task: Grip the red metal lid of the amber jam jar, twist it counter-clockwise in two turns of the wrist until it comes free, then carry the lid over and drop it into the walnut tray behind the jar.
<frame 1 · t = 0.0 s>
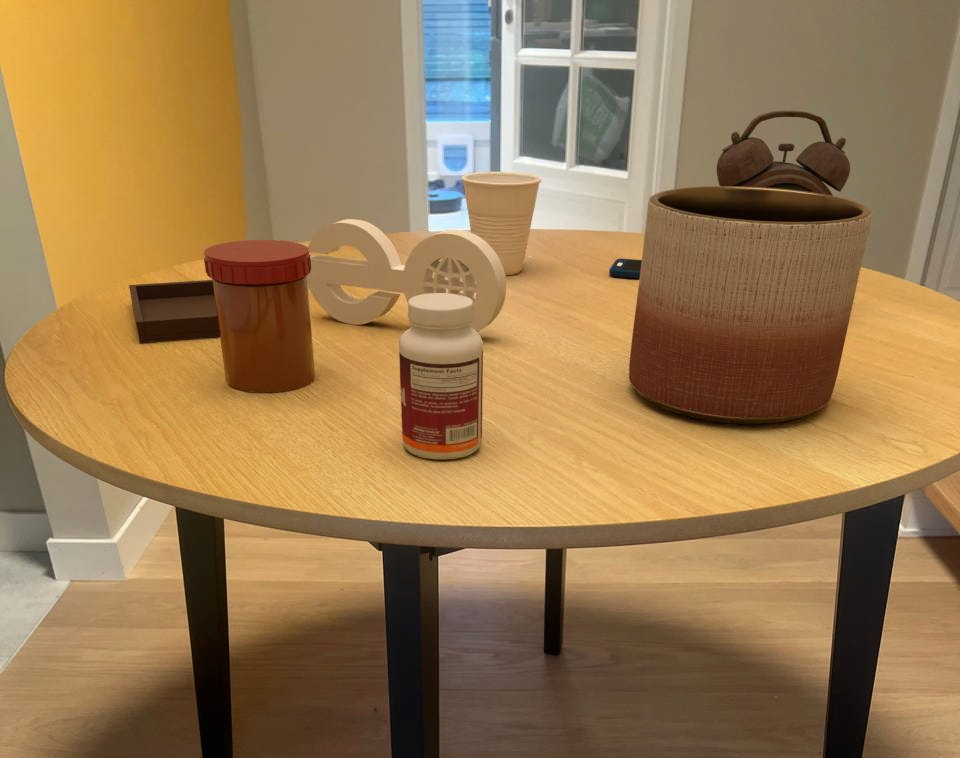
cream logo sign: (404, 330, 100), on the table
planter: (726, 396, 84), on the table
pill bottle: (442, 449, 73), on the table
cell phone: (665, 275, 122), on the table
alarm clock: (756, 311, 108), on the table
cup: (499, 272, 122), on the table
tray: (200, 317, 102), on the table
jar lid: (257, 255, 80), point 11 cm above the table, screwed on, not yet turned
jar: (270, 378, 86), on the table
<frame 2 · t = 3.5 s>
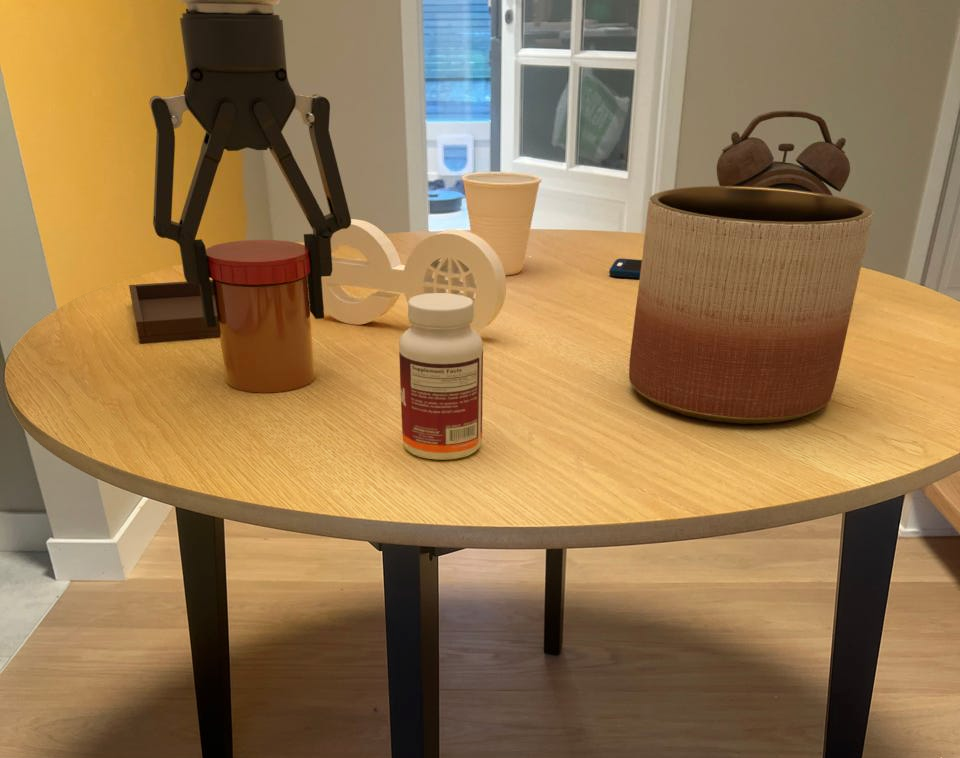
hand: (264, 318, 83), 5 cm above the table, tool pointing down, fingers closed on jar lid, 9 cm apart
jar lid: (257, 255, 80), point 11 cm above the table, screwed on, not yet turned, touching gripper
everything else where it was.
when the fingers open (5 cm above the table, at t = 5.9 s): jar lid stays where it is, point 11 cm above the table.
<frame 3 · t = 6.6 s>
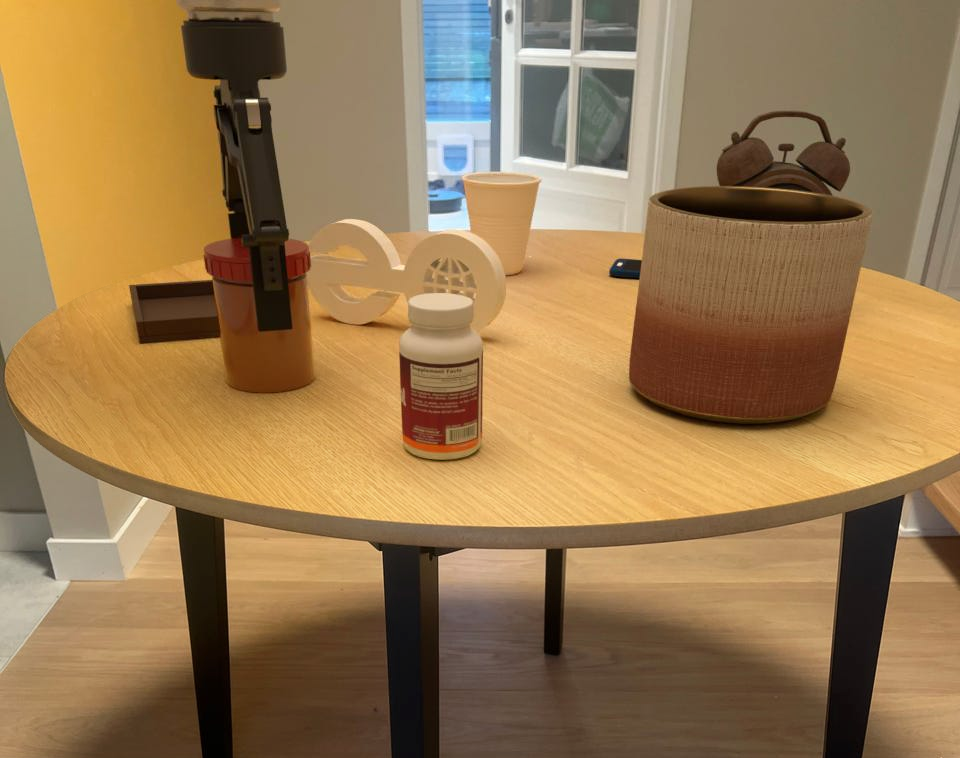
hand: (263, 308, 82), 6 cm above the table, tool pointing down, fingers open, 13 cm apart
jar lid: (257, 252, 80), point 11 cm above the table, turned 89° so far, risen 0.2 cm, still on its thread
everything else where it was.
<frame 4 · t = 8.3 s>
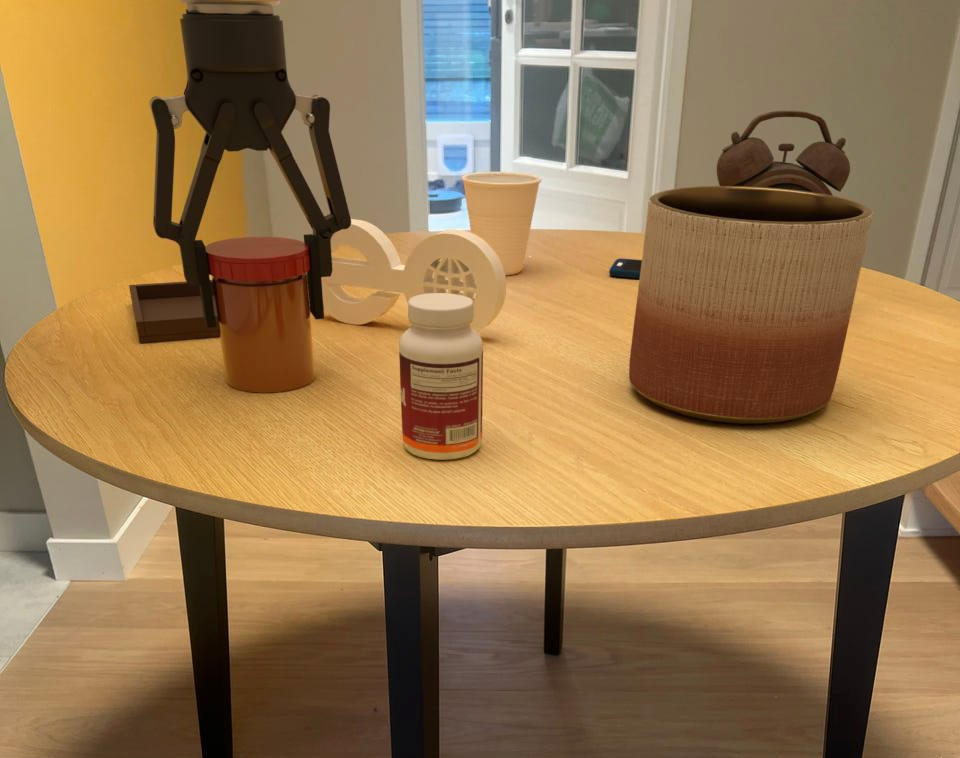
hand: (264, 318, 83), 5 cm above the table, tool pointing down, fingers closed on jar lid, 9 cm apart
jar lid: (257, 252, 80), point 11 cm above the table, turned 89° so far, risen 0.2 cm, still on its thread, touching gripper
everything else where it was.
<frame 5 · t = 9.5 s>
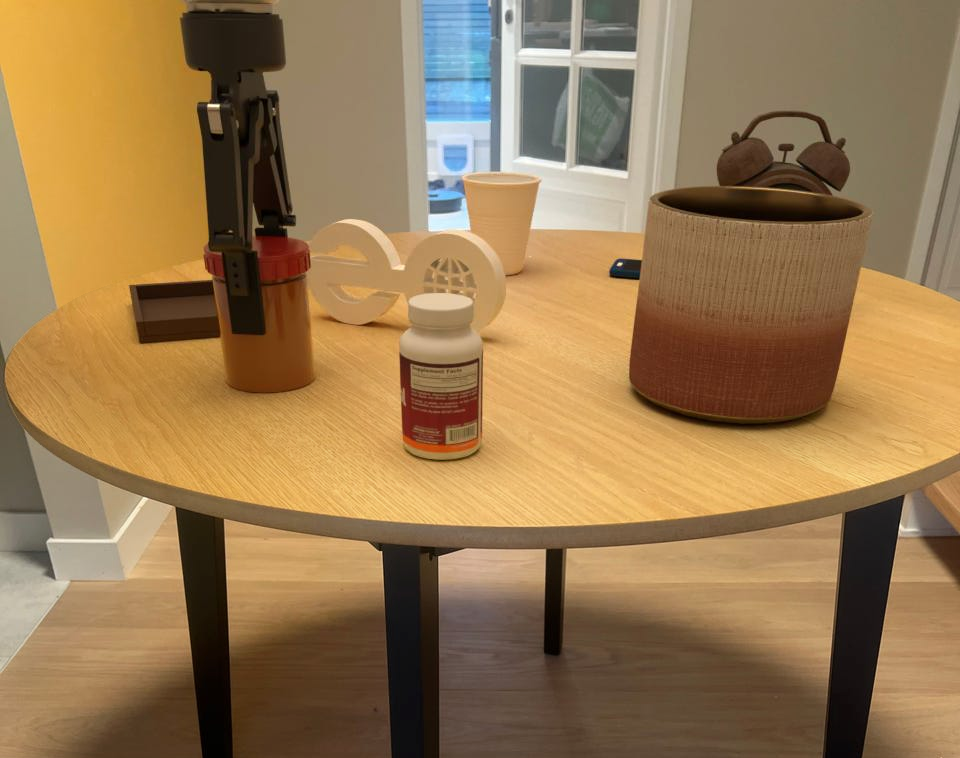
hand: (264, 318, 83), 5 cm above the table, tool pointing down, fingers closed on jar lid, 9 cm apart
jar lid: (257, 251, 80), point 11 cm above the table, off its thread, touching gripper
everything else where it was.
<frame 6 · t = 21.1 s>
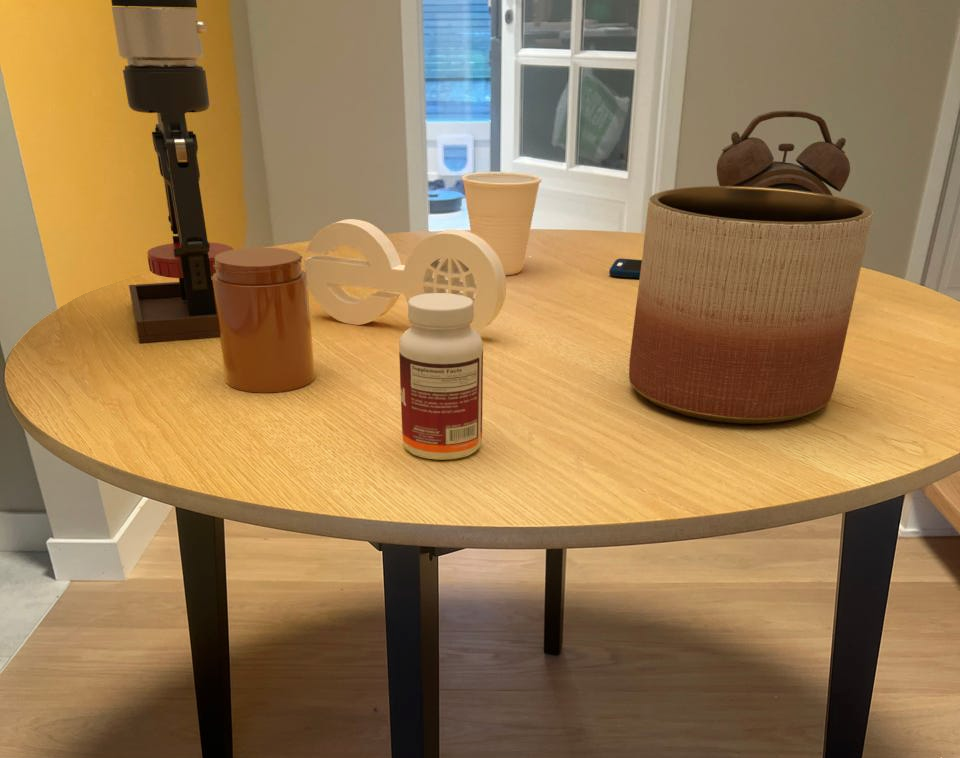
hand: (199, 309, 101), 1 cm above the table, tool pointing down, fingers closed on jar lid, 9 cm apart
jar lid: (191, 254, 98), point 6 cm above the table, off its thread, touching gripper
everything else where it was.
when the fingers open (2 cm above the table, at t = 28.7 s): jar lid drops 6 cm, resting on tray.
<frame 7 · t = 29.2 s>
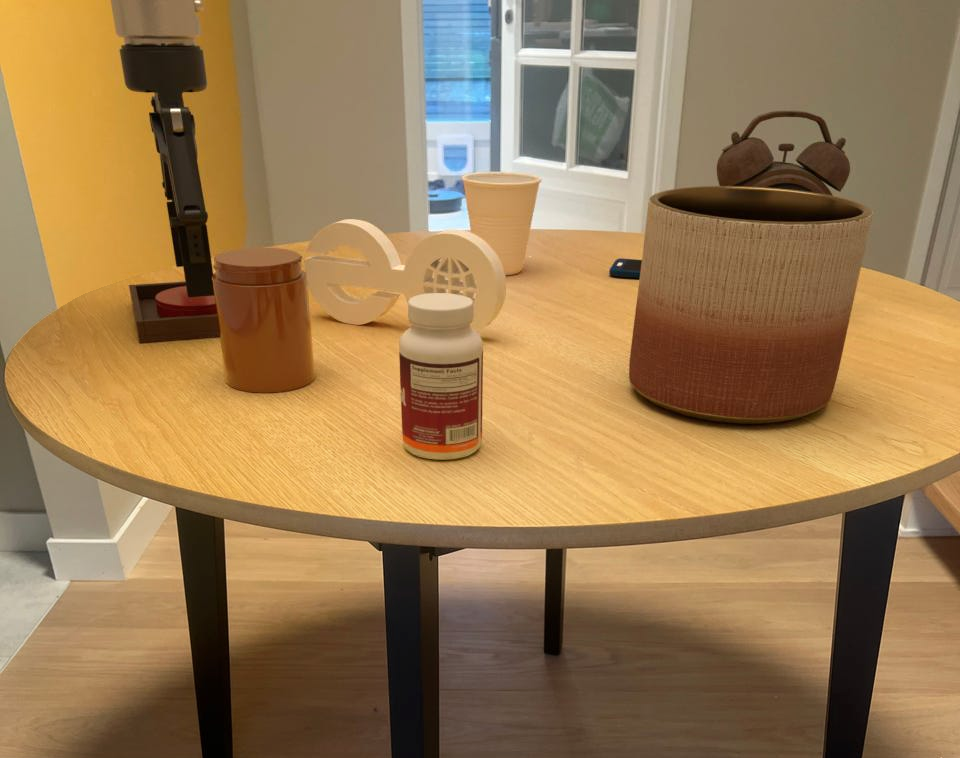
hand: (195, 280, 100), 4 cm above the table, tool pointing down, fingers open, 13 cm apart
jar lid: (198, 298, 101), point 2 cm above the table, off its thread, touching tray
everything else where it was.
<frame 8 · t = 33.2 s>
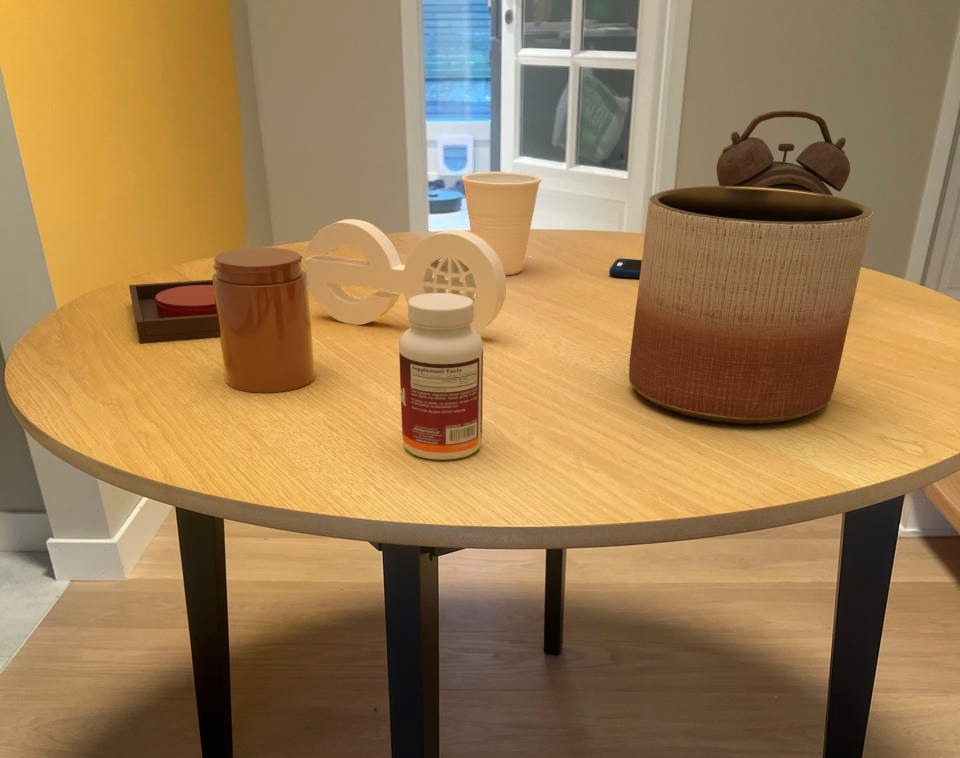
nothing on the table moved.
at the end: jar lid inside the target area in the tray (0.0 cm from its centre), point 2.0 cm above the tray's base; jar lid tilted 0°; the gripper is holding nothing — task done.
